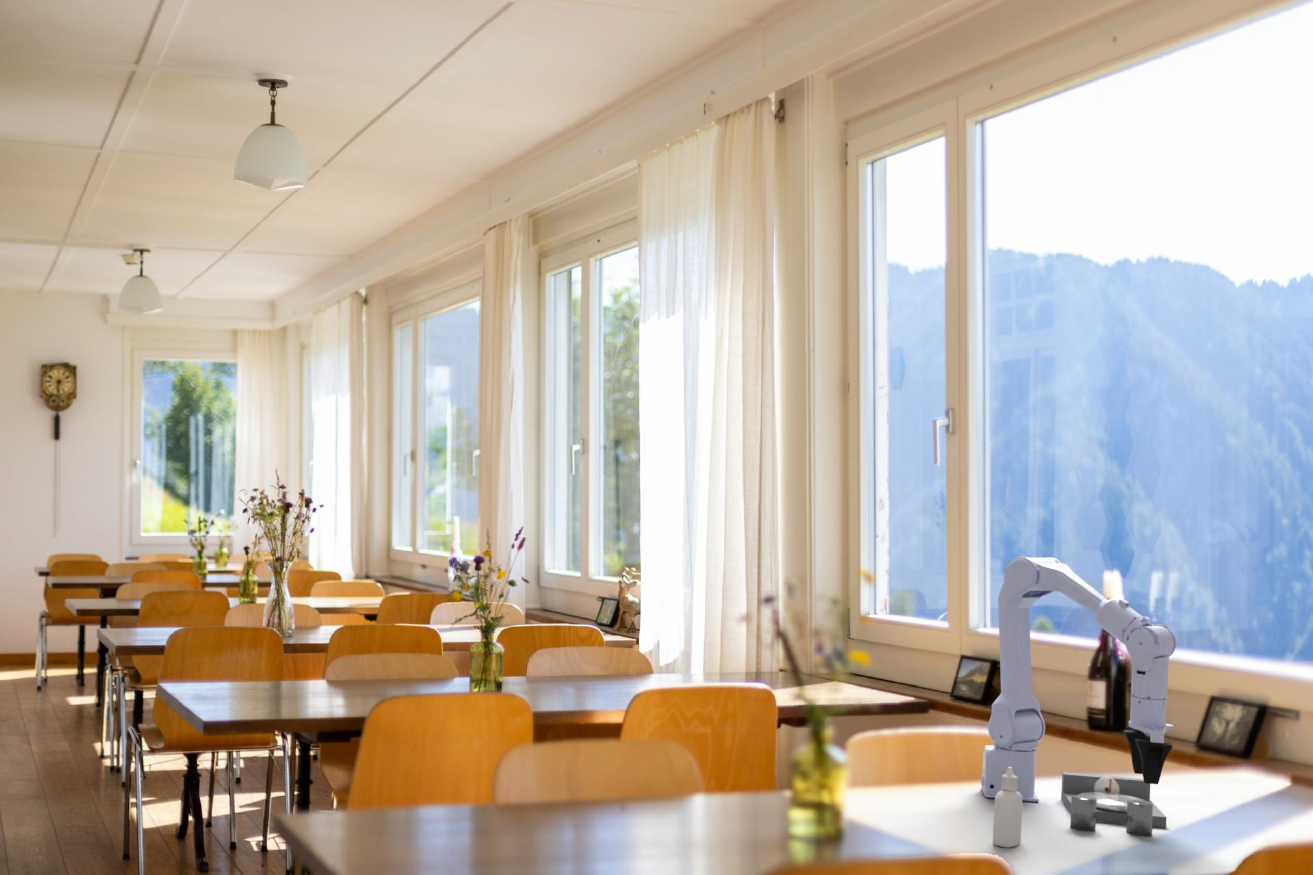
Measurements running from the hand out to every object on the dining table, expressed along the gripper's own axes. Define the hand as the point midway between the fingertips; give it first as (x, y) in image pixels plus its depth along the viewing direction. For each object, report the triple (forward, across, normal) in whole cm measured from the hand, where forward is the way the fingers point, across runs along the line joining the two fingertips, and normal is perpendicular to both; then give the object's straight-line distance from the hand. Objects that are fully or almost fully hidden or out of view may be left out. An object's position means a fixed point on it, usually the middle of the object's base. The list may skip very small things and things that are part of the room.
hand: (1145, 778), depth 220 cm
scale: (+9, +11, +3) cm, 14 cm away
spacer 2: (+9, -2, +1) cm, 9 cm away
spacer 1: (+9, -2, +10) cm, 14 cm away
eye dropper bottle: (+9, -17, +24) cm, 31 cm away
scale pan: (+7, +9, +3) cm, 12 cm away
